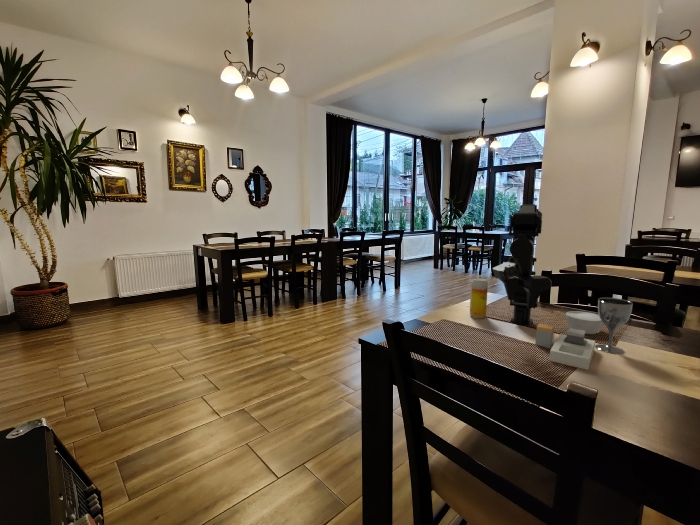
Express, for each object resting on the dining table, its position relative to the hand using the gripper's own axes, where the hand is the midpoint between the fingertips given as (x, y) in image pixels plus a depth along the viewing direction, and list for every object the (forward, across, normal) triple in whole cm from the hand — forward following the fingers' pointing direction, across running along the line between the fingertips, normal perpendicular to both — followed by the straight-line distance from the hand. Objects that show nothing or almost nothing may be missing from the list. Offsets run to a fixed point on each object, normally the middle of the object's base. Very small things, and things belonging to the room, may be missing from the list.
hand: (519, 304), depth 103 cm
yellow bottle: (+14, -28, +2) cm, 31 cm away
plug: (+13, +2, +8) cm, 16 cm away
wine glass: (+13, +8, +25) cm, 29 cm away
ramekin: (+14, -8, +31) cm, 35 cm away
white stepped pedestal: (+13, +10, +10) cm, 20 cm away
